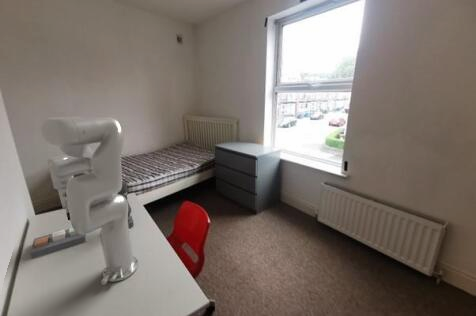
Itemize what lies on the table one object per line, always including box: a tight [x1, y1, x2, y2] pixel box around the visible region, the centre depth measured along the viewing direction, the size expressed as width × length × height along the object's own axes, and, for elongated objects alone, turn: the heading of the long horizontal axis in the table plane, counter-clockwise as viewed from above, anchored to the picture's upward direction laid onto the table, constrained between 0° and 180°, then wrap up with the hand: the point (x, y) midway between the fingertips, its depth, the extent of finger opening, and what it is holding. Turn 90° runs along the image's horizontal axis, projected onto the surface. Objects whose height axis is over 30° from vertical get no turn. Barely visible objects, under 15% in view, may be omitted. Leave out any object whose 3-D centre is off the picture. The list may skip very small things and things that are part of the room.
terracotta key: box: [34, 236, 49, 247], centre depth 97 cm, size 4×4×4 cm
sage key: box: [68, 226, 79, 237], centre depth 104 cm, size 4×4×4 cm
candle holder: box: [118, 180, 135, 230], centre depth 111 cm, size 6×6×25 cm
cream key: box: [51, 229, 66, 242], centre depth 100 cm, size 4×4×4 cm
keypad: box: [29, 228, 87, 260], centre depth 101 cm, size 19×12×3 cm, turn 127°
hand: (72, 218), depth 102 cm, fingers closed
